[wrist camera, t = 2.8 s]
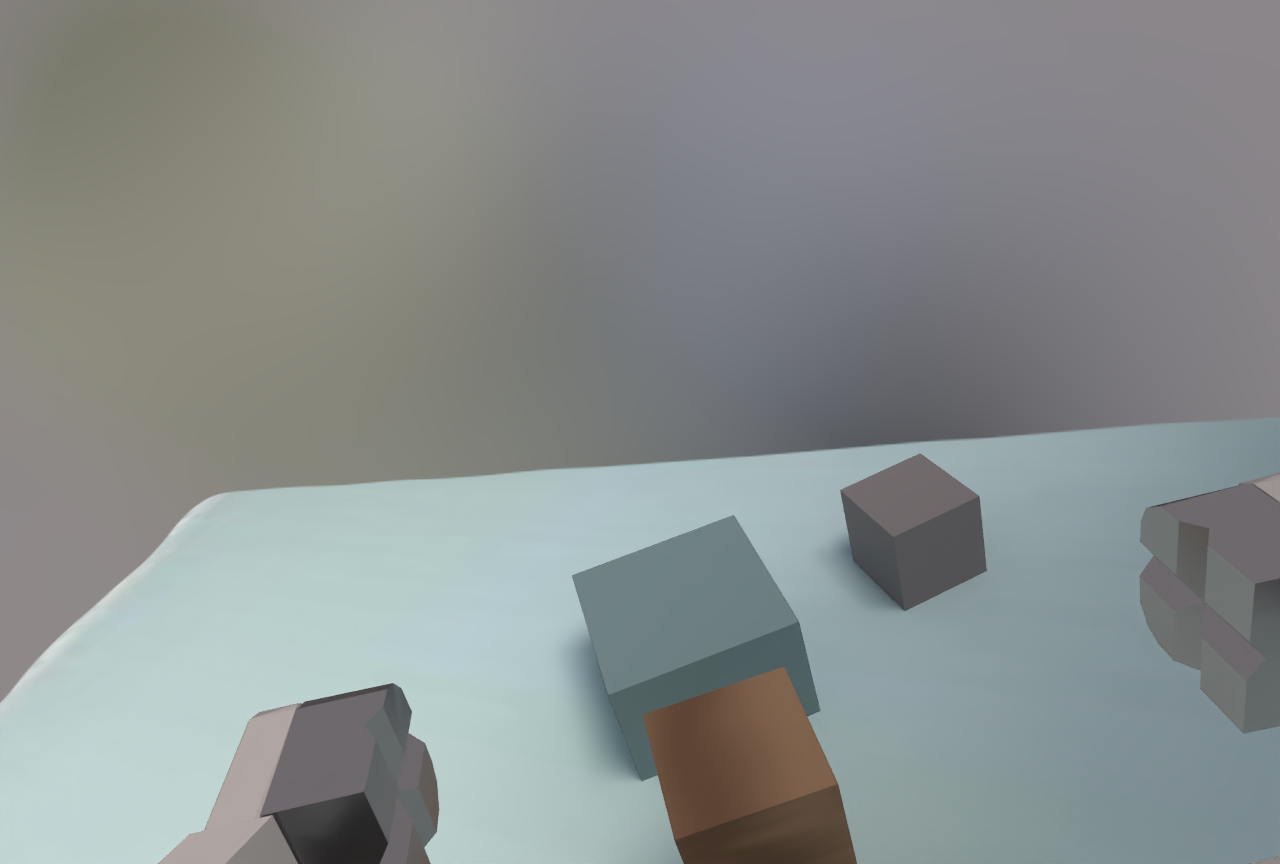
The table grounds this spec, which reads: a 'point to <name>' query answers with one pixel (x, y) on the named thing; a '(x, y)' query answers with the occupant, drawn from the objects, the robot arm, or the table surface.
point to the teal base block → (688, 626)
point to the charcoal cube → (915, 530)
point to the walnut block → (748, 778)
